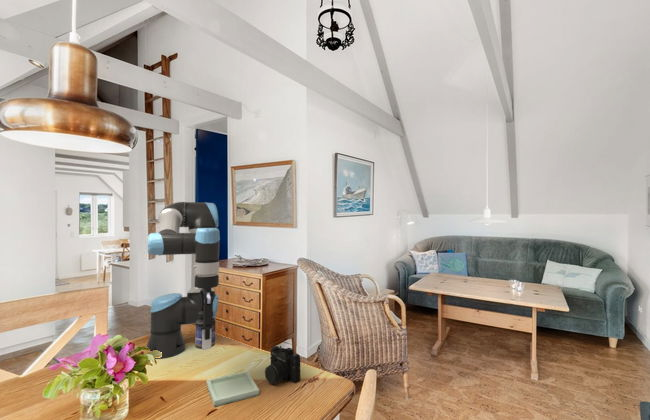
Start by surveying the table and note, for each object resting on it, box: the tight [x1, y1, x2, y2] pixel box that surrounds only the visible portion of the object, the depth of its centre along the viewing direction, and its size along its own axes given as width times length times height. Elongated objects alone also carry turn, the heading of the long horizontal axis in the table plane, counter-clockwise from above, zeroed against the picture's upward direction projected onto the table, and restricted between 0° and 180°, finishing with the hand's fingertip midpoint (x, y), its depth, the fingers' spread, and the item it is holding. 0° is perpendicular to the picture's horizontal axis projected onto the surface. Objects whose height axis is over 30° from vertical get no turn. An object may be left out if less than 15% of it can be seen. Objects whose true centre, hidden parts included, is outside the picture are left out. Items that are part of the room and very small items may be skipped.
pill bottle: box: [194, 311, 216, 350], centre depth 106 cm, size 6×6×11 cm
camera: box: [264, 345, 302, 385], centre depth 116 cm, size 14×11×10 cm
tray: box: [206, 370, 260, 408], centre depth 108 cm, size 14×14×2 cm
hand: (205, 344), depth 106 cm, fingers closed on pill bottle, 6 cm apart
